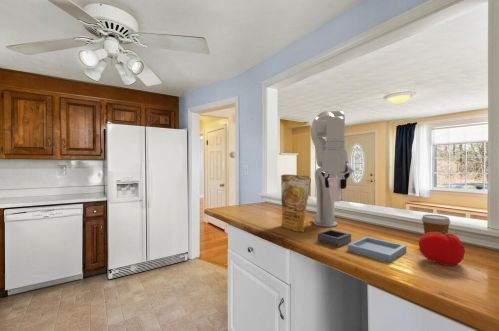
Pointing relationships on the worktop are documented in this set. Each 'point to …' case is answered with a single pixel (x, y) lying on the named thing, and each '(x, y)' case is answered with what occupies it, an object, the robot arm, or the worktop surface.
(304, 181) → the pancake mix bag
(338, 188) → the smoothie
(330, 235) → the dark grey open box
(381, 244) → the tray
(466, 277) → the worktop surface
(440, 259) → the tomato
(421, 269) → the worktop surface
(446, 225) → the disposable coffee cup
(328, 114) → the robot arm
